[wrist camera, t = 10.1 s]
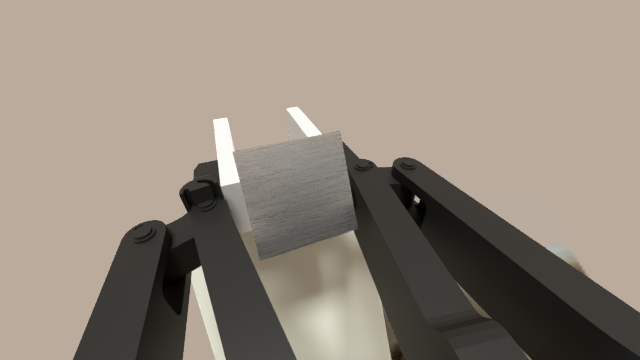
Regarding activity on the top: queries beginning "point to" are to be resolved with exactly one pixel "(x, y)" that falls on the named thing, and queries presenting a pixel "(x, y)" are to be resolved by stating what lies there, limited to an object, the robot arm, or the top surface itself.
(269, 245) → the rail
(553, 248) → the top surface
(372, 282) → the unit
